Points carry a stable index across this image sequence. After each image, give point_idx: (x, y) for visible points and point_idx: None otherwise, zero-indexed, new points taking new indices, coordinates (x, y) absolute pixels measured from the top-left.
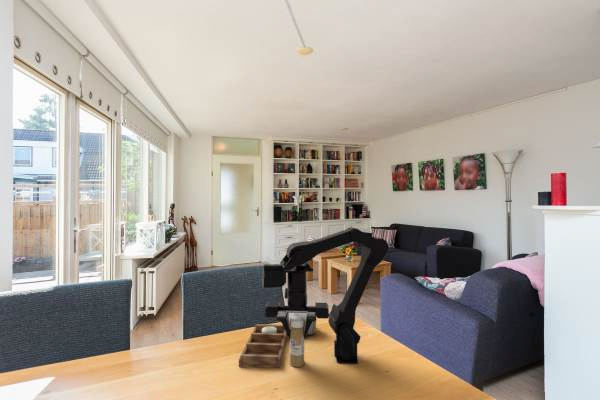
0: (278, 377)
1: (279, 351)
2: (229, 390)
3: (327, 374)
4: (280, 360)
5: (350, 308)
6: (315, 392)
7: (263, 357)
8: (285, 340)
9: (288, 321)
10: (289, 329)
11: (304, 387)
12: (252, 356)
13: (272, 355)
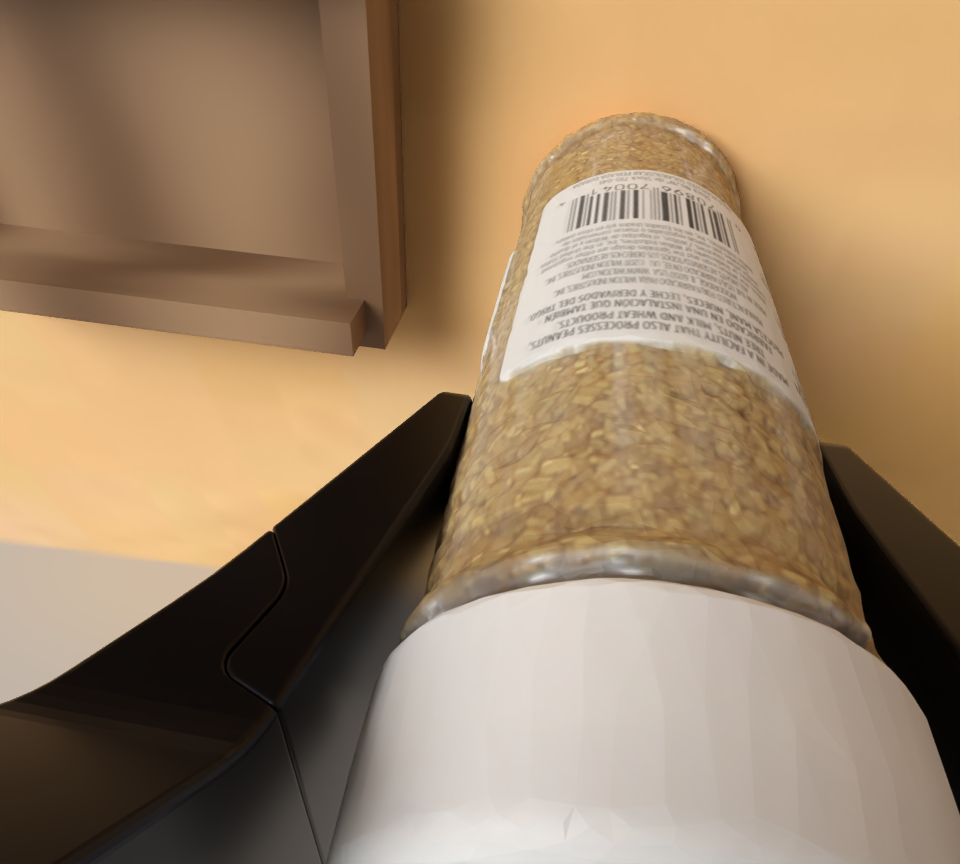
0: None
1: (333, 85)
2: (109, 527)
3: (952, 450)
4: (394, 218)
5: None
6: None
7: (168, 325)
8: None
9: (309, 789)
10: (415, 584)
11: None
12: (27, 312)
13: (268, 320)
